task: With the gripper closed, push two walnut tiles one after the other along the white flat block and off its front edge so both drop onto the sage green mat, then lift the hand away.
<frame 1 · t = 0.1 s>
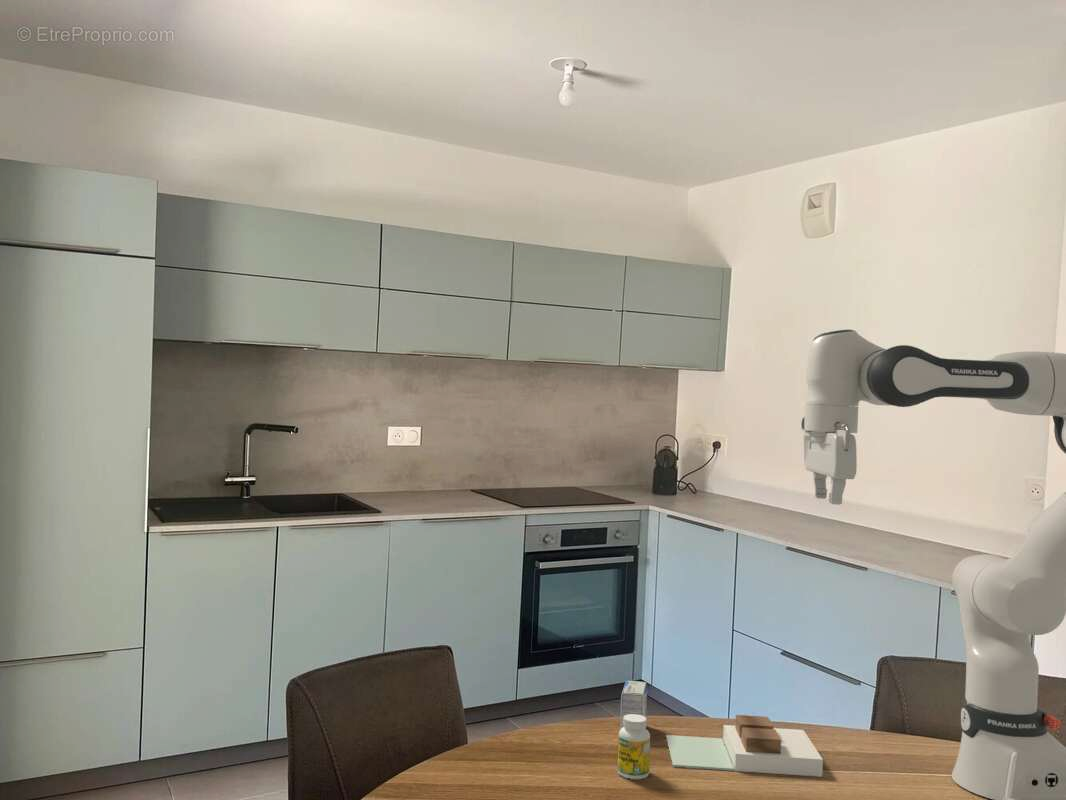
hand: (827, 501, 156), 48 cm above the table, tool pointing down, fingers open, 8 cm apart
mat: (698, 753, 163), on the table
far tile: (753, 733, 165), point 3 cm above the table, touching white flat block
medicine box: (632, 732, 172), on the table
near tile: (760, 747, 159), point 3 cm above the table, touching white flat block
supplement bottle: (632, 774, 152), on the table
white flat block: (770, 757, 162), on the table
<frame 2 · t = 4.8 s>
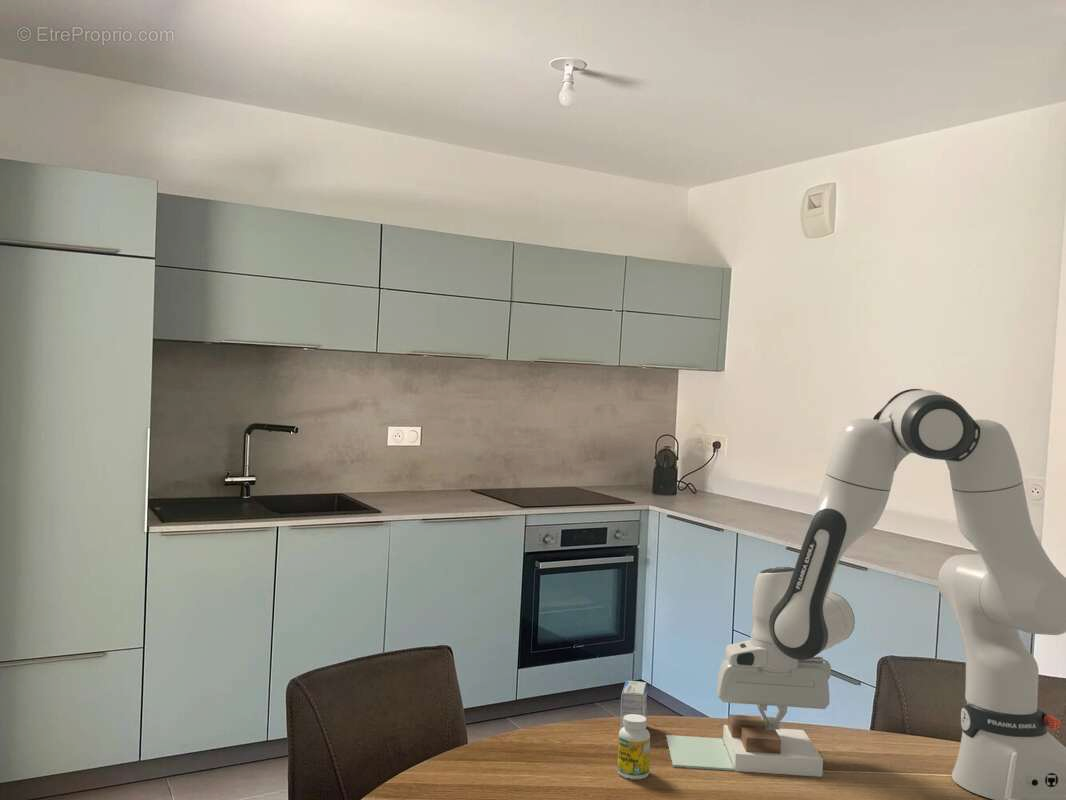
hand: (771, 728, 165), 4 cm above the table, tool pointing down, fingers closed
far tile: (746, 733, 165), point 3 cm above the table, touching white flat block, gripper
everything else where it was.
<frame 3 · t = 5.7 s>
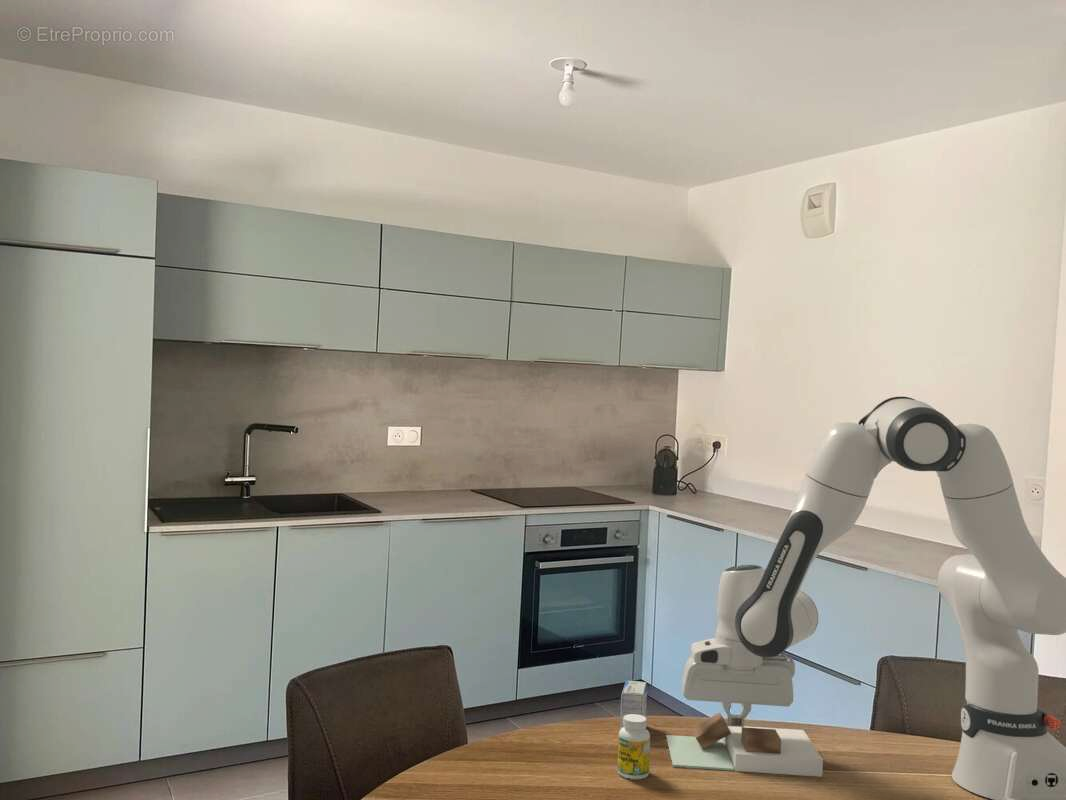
hand: (735, 725, 165), 4 cm above the table, tool pointing down, fingers closed
far tile: (714, 736, 166), point 2 cm above the table, tilted 34°, touching mat
everything else where it was.
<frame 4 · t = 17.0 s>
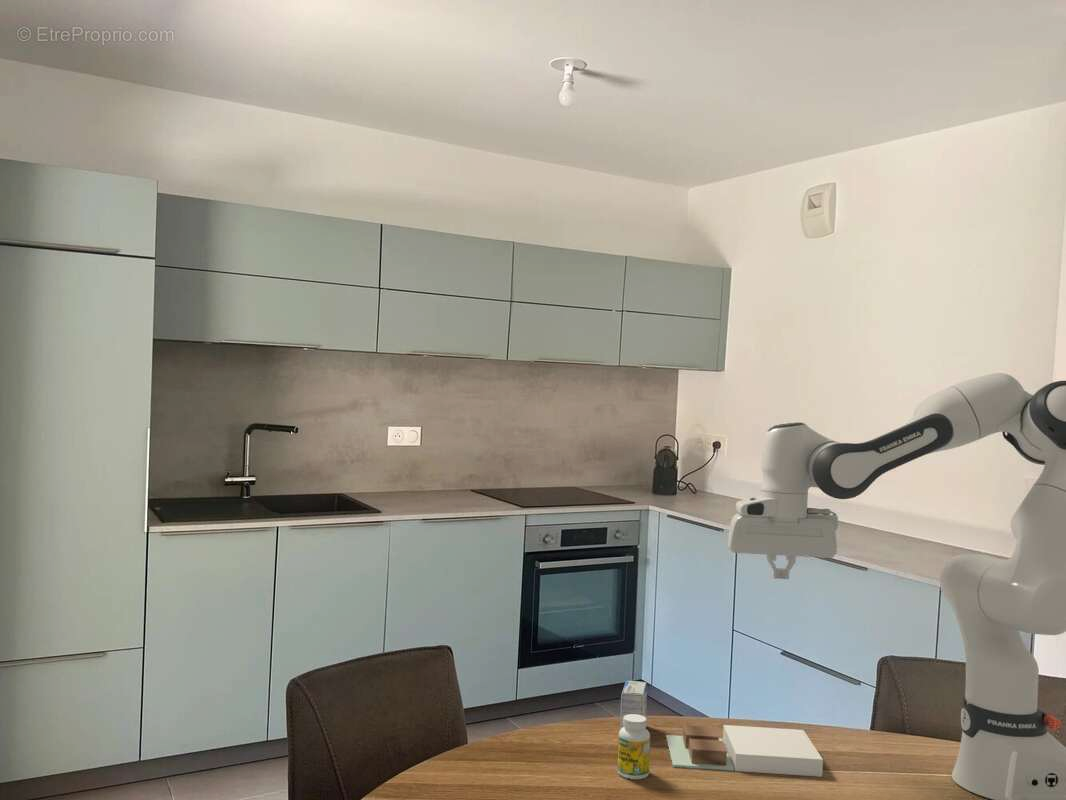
hand: (780, 578, 171), 31 cm above the table, tool pointing down, fingers closed
far tile: (700, 744, 166), on the table, touching mat
near tile: (707, 758, 159), on the table, touching mat
everything else where it was.
at the end: far tile inside the target area (3.5 cm from its centre), on the table; near tile inside the target area (3.6 cm from its centre), on the table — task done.
